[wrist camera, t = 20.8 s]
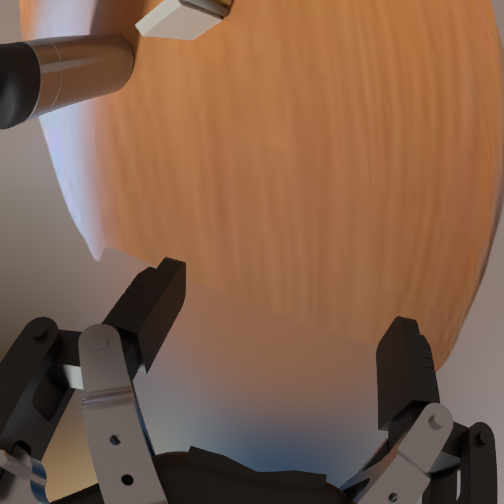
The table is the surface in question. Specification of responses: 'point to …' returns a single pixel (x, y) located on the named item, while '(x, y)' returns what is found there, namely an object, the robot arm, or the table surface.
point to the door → (223, 2)
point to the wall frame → (181, 19)
